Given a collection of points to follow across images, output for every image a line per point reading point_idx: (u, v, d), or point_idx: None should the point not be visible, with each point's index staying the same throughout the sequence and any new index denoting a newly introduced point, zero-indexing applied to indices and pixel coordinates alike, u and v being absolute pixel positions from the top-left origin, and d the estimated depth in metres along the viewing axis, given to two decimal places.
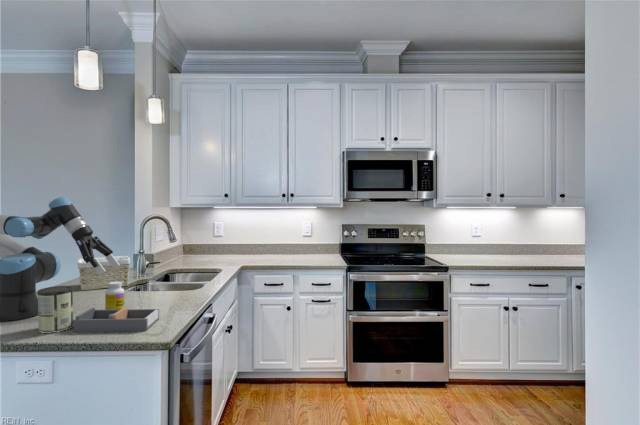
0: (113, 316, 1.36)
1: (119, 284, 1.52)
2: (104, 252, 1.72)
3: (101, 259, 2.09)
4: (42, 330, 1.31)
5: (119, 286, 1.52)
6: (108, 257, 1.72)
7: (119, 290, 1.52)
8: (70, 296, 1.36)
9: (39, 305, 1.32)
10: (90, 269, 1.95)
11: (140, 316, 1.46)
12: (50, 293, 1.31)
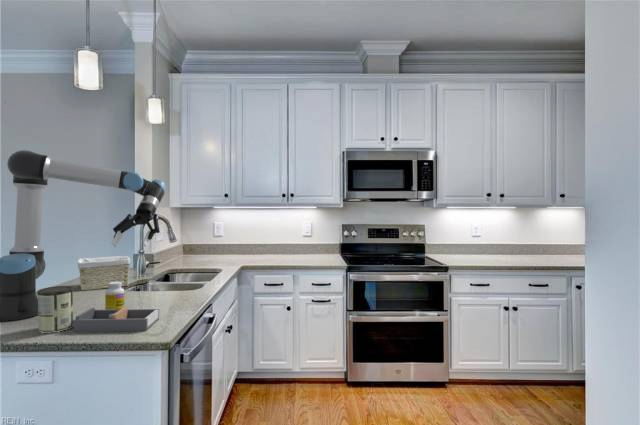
0: (113, 316, 1.36)
1: (119, 284, 1.52)
2: (123, 229, 1.69)
3: (101, 259, 2.09)
4: (42, 330, 1.31)
5: (119, 286, 1.52)
6: (120, 233, 1.67)
7: (119, 290, 1.52)
8: (70, 296, 1.36)
9: (39, 305, 1.32)
10: (90, 269, 1.95)
11: (140, 316, 1.46)
12: (50, 293, 1.31)
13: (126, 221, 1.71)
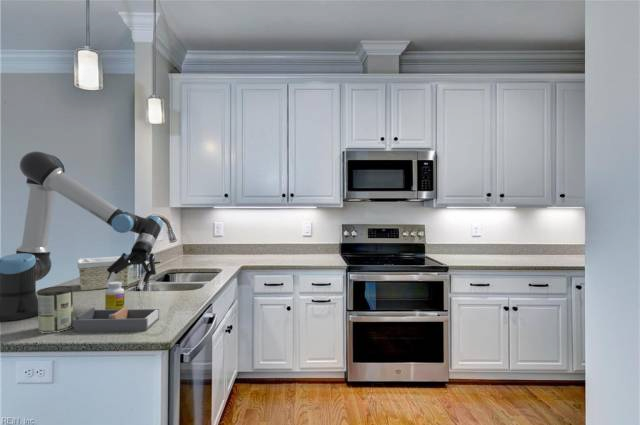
0: (113, 316, 1.36)
1: (119, 284, 1.52)
2: (118, 269, 1.63)
3: (101, 259, 2.09)
4: (42, 330, 1.31)
5: (119, 286, 1.52)
6: (114, 275, 1.61)
7: (119, 290, 1.52)
8: (70, 296, 1.36)
9: (39, 305, 1.32)
10: (90, 269, 1.95)
11: (140, 316, 1.46)
12: (50, 293, 1.31)
13: (121, 261, 1.65)
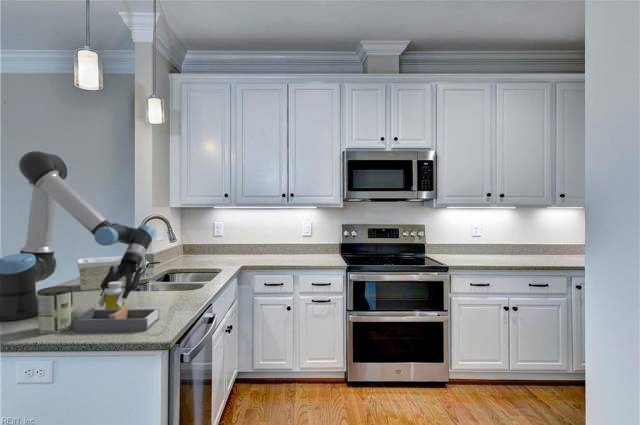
0: (113, 316, 1.36)
1: (119, 284, 1.52)
2: None
3: (101, 259, 2.09)
4: (42, 330, 1.31)
5: (119, 286, 1.52)
6: None
7: (119, 290, 1.52)
8: (70, 296, 1.36)
9: (39, 305, 1.32)
10: (90, 269, 1.94)
11: (140, 316, 1.46)
12: (50, 293, 1.31)
13: (111, 274, 1.59)
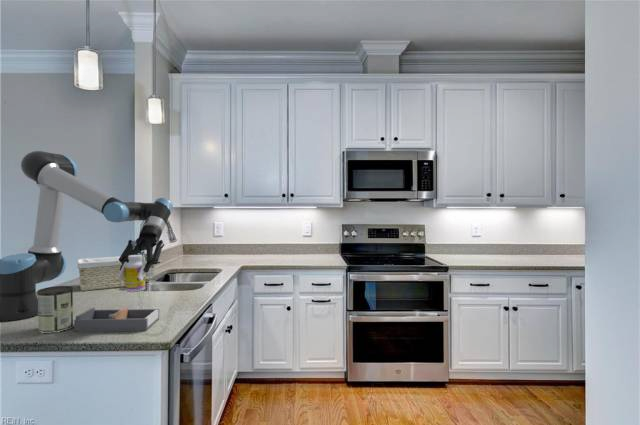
0: (113, 316, 1.36)
1: (140, 257, 1.43)
2: None
3: (101, 259, 2.09)
4: (42, 330, 1.31)
5: (140, 259, 1.43)
6: None
7: (140, 263, 1.42)
8: (70, 296, 1.36)
9: (39, 305, 1.32)
10: (90, 269, 1.94)
11: (140, 316, 1.46)
12: (50, 293, 1.31)
13: (130, 248, 1.49)
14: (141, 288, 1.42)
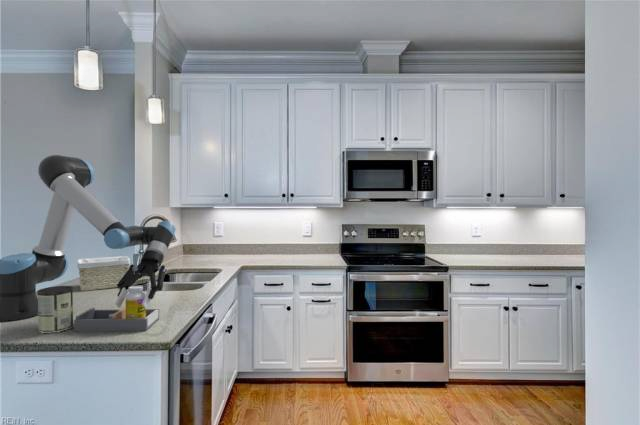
0: (113, 316, 1.36)
1: (140, 288, 1.40)
2: (129, 284, 1.44)
3: (100, 259, 2.08)
4: (42, 330, 1.31)
5: (140, 291, 1.40)
6: (125, 291, 1.42)
7: (140, 295, 1.40)
8: (70, 296, 1.36)
9: (39, 305, 1.32)
10: (90, 269, 1.94)
11: None
12: (50, 293, 1.31)
13: (130, 273, 1.47)
14: None
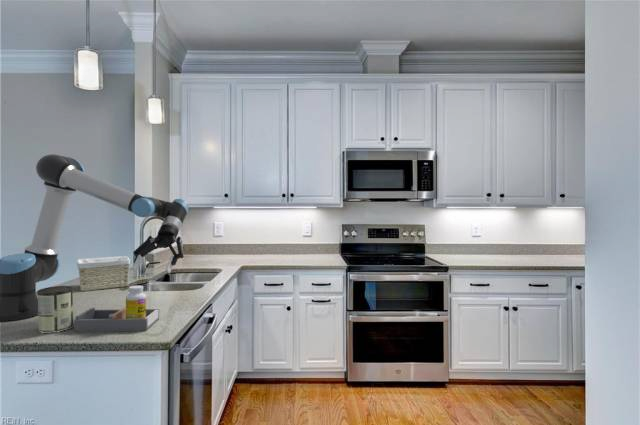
0: (113, 316, 1.36)
1: (141, 288, 1.40)
2: (144, 252, 1.57)
3: (100, 259, 2.08)
4: (42, 330, 1.31)
5: (141, 291, 1.40)
6: (140, 258, 1.55)
7: (141, 295, 1.40)
8: (70, 296, 1.36)
9: (39, 305, 1.32)
10: (90, 270, 1.94)
11: None
12: (50, 293, 1.31)
13: (147, 244, 1.59)
14: None
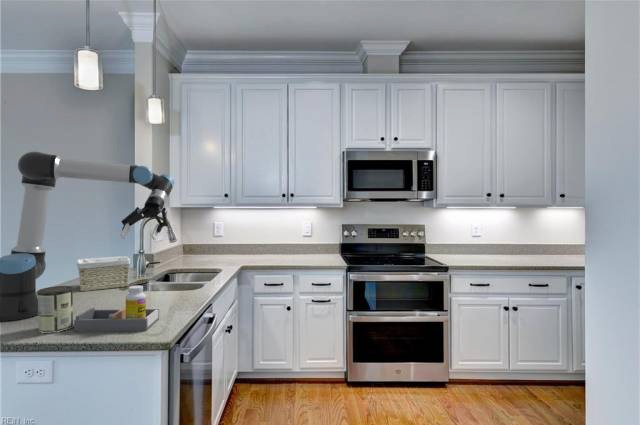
0: (113, 316, 1.36)
1: (140, 288, 1.40)
2: (132, 222, 1.70)
3: (100, 259, 2.08)
4: (42, 330, 1.31)
5: (140, 291, 1.40)
6: (128, 226, 1.68)
7: (140, 295, 1.40)
8: (70, 296, 1.36)
9: (39, 305, 1.32)
10: (90, 270, 1.93)
11: None
12: (50, 293, 1.31)
13: (134, 214, 1.72)
14: None
